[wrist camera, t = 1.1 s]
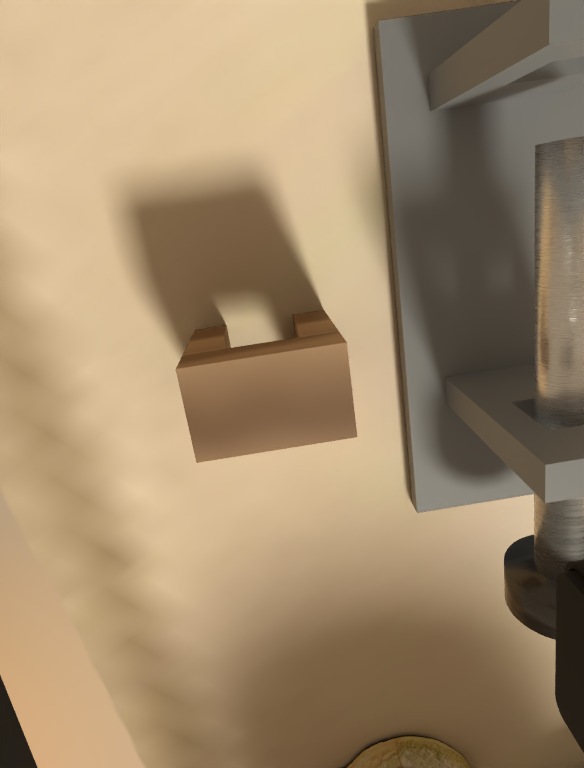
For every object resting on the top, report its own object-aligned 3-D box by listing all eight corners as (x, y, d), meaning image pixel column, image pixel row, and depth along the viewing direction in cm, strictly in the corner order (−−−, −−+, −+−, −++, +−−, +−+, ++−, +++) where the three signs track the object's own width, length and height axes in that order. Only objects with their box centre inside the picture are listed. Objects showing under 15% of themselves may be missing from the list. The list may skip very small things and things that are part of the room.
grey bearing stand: (373, 28, 23) (470, -121, 13) (596, -4, 24) (868, -176, 13) (412, 503, 31) (493, 652, 20) (580, 476, 31) (745, 610, 21)
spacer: (195, 330, 27) (175, 369, 20) (323, 310, 27) (346, 342, 20) (210, 403, 28) (196, 462, 22) (333, 384, 28) (357, 437, 22)
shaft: (474, 156, 21) (538, 140, 16) (598, 138, 21) (697, 117, 16) (487, 575, 27) (536, 652, 23) (582, 559, 27) (652, 632, 23)
